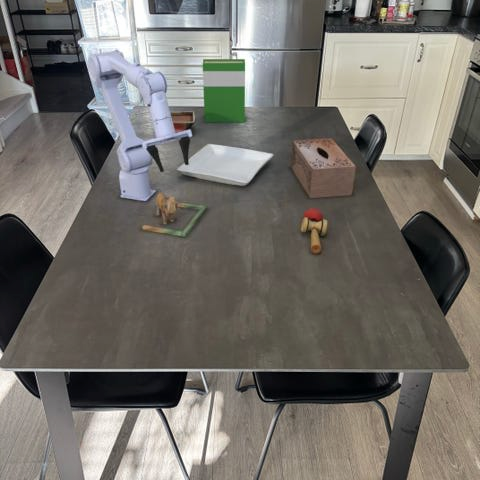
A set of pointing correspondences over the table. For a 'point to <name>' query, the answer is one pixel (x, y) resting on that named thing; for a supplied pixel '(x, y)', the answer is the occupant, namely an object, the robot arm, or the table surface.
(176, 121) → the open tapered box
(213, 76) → the hardback book
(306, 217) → the kendama
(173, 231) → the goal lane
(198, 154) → the square plate
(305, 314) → the table surface
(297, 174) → the tissue box cover
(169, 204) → the lion figurine
